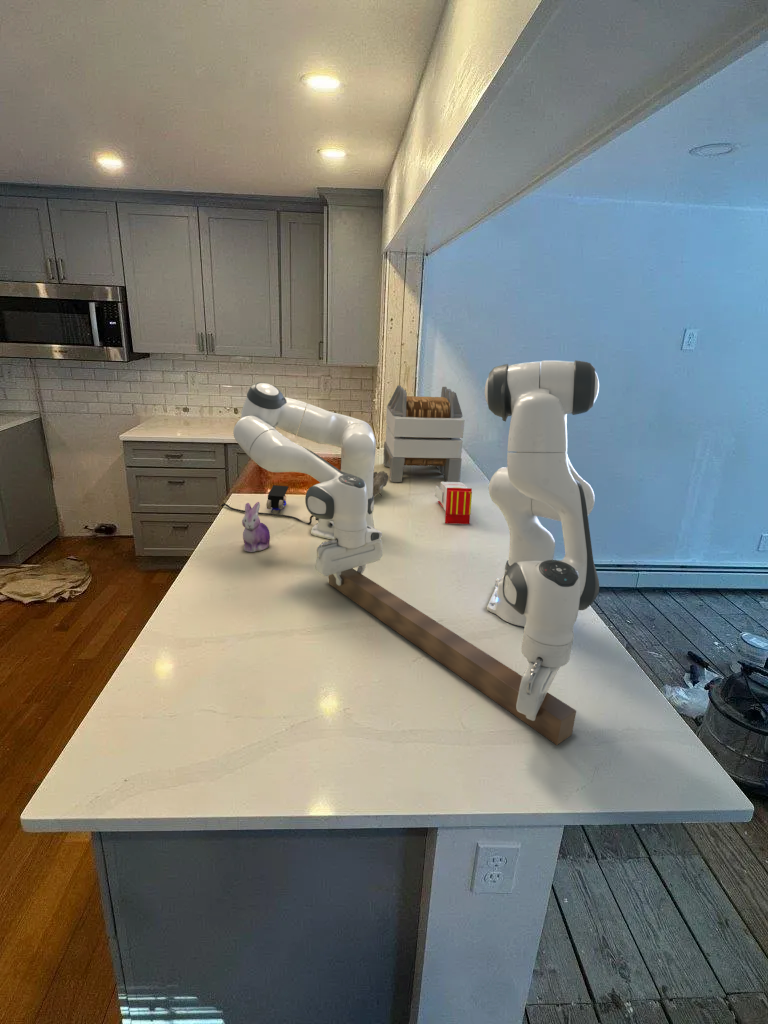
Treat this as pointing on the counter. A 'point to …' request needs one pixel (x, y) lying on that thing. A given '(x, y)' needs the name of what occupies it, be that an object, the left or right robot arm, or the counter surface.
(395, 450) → the white boxy stand
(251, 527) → the figurine
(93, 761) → the counter surface
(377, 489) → the fossil
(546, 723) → the beam
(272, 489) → the figurine character
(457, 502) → the red striped box
